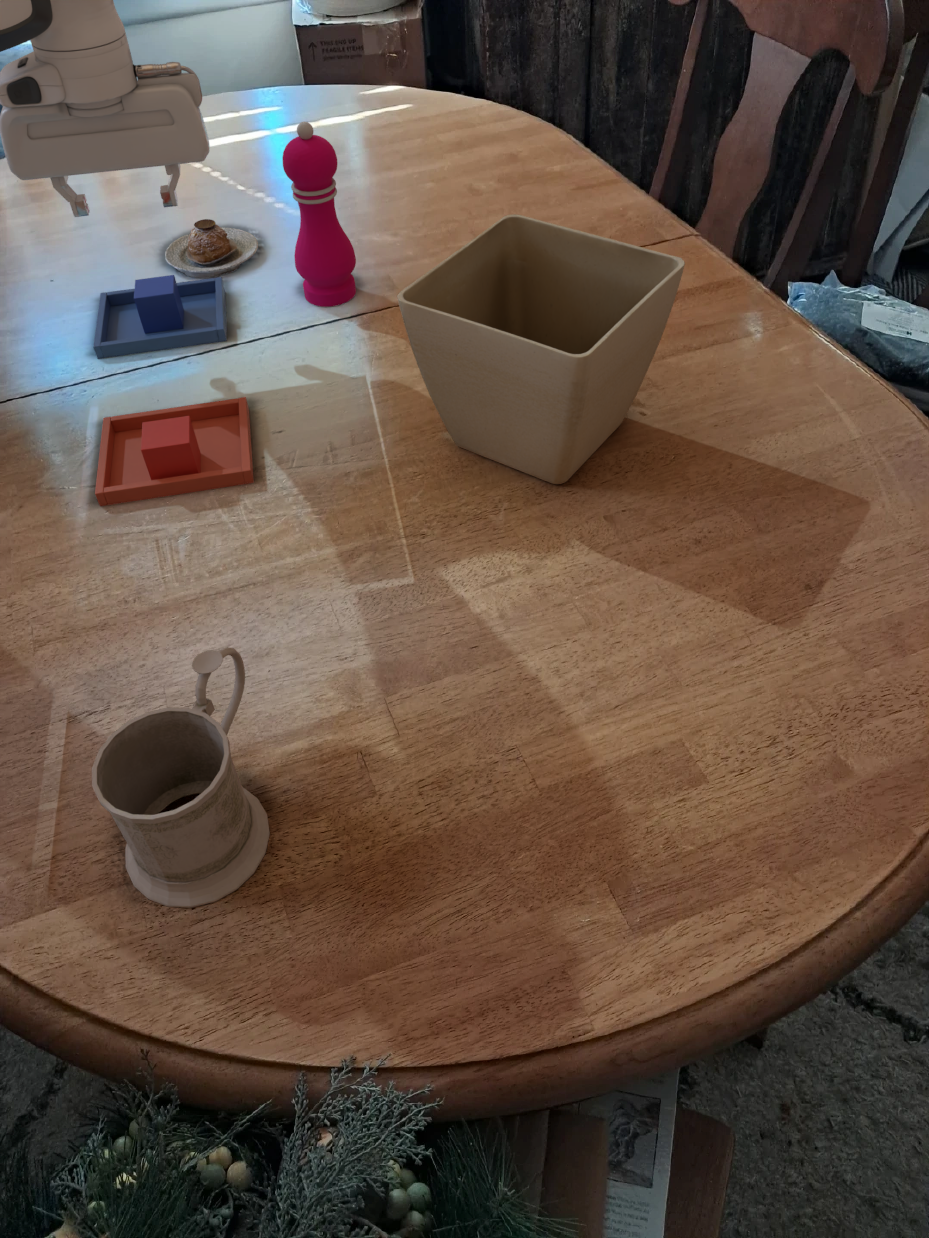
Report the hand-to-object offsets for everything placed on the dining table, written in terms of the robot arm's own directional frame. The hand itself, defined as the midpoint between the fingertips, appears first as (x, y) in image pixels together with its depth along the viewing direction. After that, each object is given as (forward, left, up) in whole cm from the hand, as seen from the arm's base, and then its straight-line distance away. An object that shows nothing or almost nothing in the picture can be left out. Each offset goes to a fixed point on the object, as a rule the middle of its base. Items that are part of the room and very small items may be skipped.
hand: (126, 209), depth 107 cm
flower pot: (+38, -32, -14) cm, 52 cm away
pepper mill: (+20, +2, -14) cm, 25 cm away
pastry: (+6, +16, -14) cm, 22 cm away
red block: (+2, -29, -14) cm, 32 cm away
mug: (+5, -70, -14) cm, 72 cm away
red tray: (+2, -27, -14) cm, 30 cm away
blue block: (0, 0, -14) cm, 14 cm away
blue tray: (0, 0, -14) cm, 14 cm away
